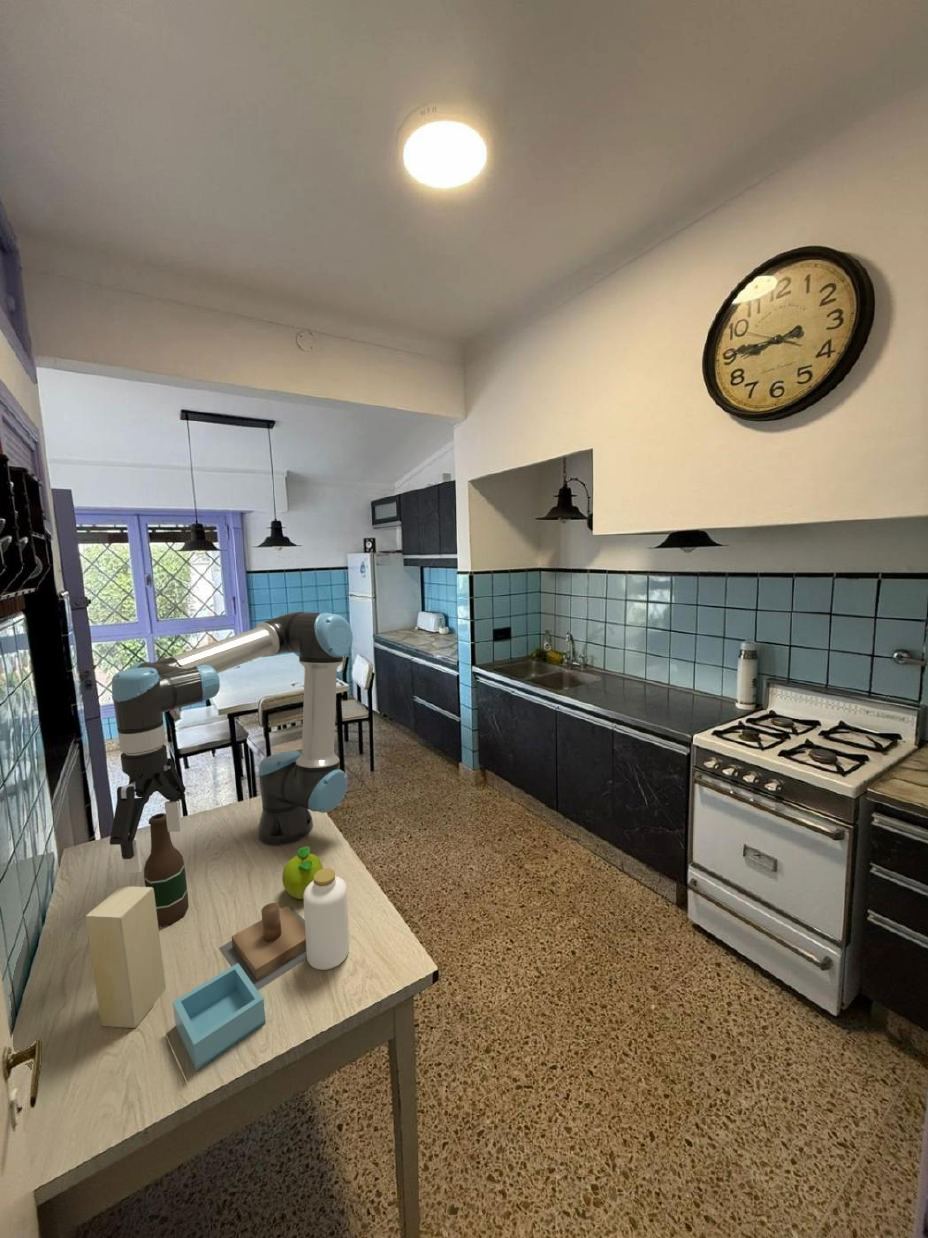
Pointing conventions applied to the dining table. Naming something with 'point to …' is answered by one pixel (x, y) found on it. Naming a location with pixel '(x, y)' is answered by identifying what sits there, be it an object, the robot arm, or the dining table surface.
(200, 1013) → the dish
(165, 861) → the beer bottle
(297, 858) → the fruit
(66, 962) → the dining table surface
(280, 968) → the mat
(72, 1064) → the dining table surface
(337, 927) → the potion bottle
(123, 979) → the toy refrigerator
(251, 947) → the lid cover
